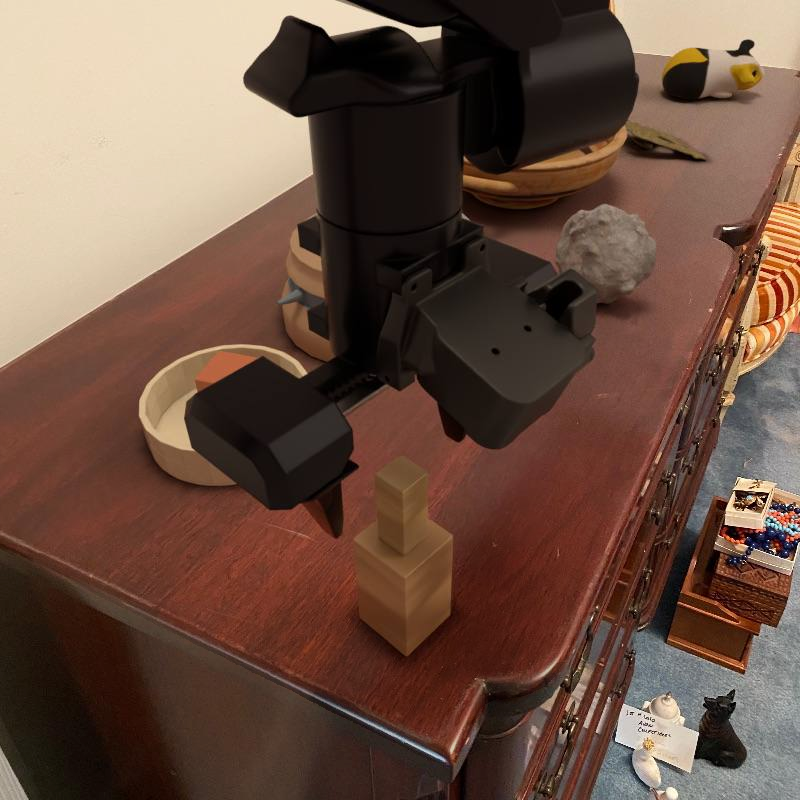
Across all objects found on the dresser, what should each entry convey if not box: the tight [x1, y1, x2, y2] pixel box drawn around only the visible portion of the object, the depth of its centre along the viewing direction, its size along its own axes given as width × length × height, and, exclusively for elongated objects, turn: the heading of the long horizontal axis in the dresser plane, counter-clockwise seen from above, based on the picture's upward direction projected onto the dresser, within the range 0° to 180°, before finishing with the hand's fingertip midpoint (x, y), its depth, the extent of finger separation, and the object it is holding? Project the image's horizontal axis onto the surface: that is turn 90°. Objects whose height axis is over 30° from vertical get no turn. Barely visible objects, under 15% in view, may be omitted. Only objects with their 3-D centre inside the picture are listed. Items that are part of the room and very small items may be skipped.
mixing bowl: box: [138, 343, 309, 487], centre depth 60 cm, size 13×13×4 cm
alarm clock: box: [276, 212, 471, 363], centre depth 72 cm, size 17×9×23 cm
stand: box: [352, 518, 454, 657], centre depth 44 cm, size 4×4×8 cm
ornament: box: [625, 119, 708, 161], centre depth 103 cm, size 10×2×15 cm
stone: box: [554, 203, 657, 304], centre depth 71 cm, size 9×7×10 cm
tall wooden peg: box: [374, 454, 429, 556], centre depth 40 cm, size 2×2×5 cm
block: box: [195, 351, 258, 392], centre depth 61 cm, size 4×4×4 cm
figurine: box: [661, 38, 766, 100], centre depth 116 cm, size 8×15×8 cm, turn 83°
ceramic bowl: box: [463, 125, 628, 210], centre depth 91 cm, size 30×24×8 cm
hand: (397, 482), depth 40 cm, fingers open, 9 cm apart
